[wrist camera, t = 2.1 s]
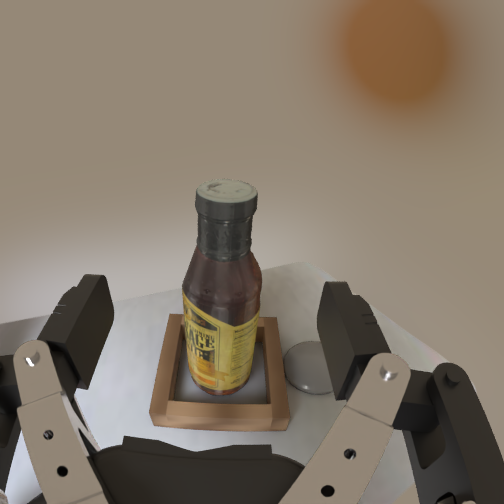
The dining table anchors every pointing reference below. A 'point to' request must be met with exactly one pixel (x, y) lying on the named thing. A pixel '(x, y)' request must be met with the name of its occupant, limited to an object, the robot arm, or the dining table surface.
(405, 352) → the dining table surface
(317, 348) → the coaster
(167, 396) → the pocket frame
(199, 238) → the sauce bottle
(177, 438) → the dining table surface
